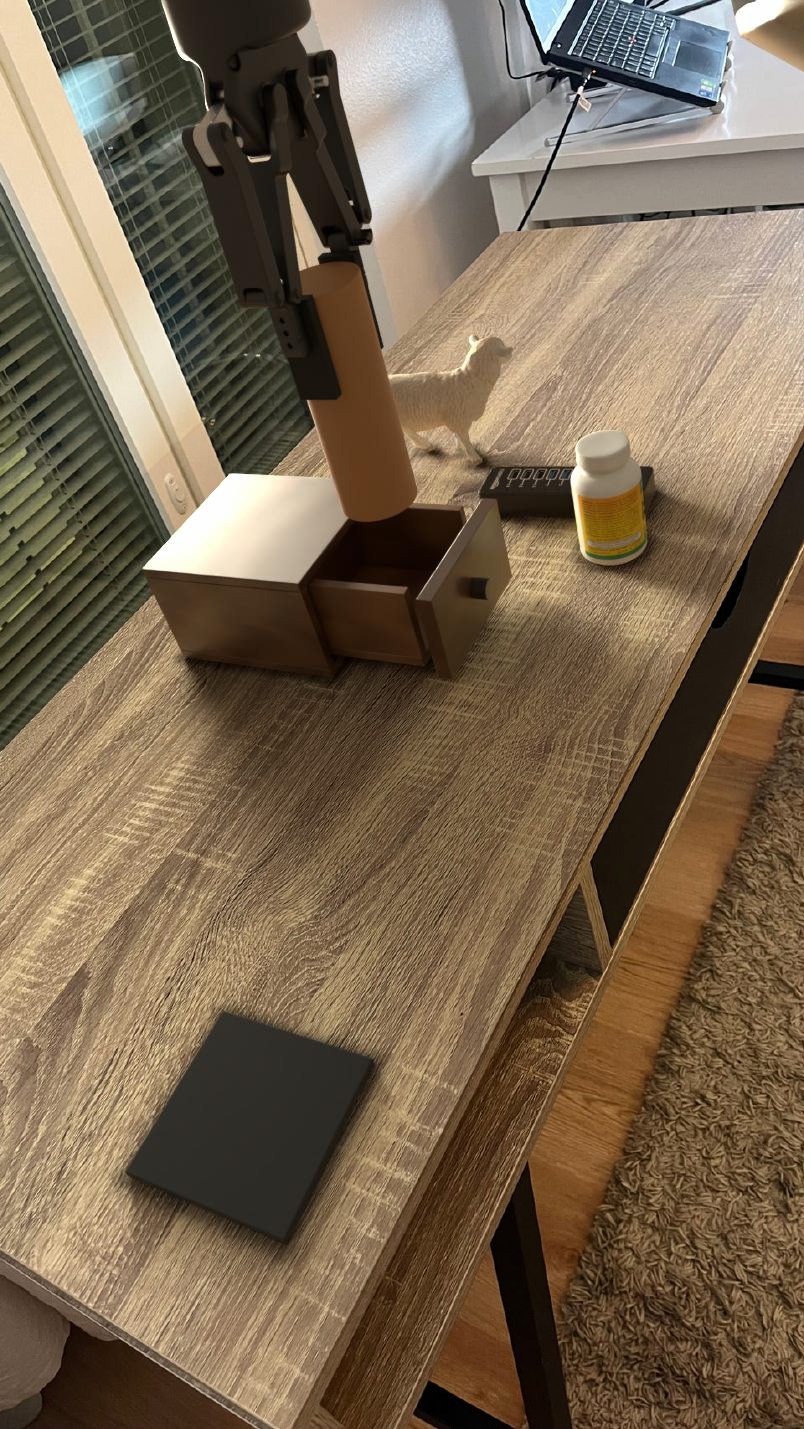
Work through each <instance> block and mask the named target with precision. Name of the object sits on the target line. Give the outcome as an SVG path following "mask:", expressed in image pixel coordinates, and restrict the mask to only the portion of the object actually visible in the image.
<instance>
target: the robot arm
mask: <svg viewBox="0 0 804 1429" xmlns="http://www.w3.org/2000/svg"><path fill="white" fill-rule="evenodd" d="M730 1H731V6H732V12H733V16H734V18H735V23H736V27H737V30H738V34H739V37H740V38H741V39H743V40H745V41H746V42H748V43H751V44H752V45H753V46H756V47H757V48H759V49H761V50H763V51H765V52H767V53H768V54H770V55H772V56H774V57H776V58H778V59H779V60H781V61H783V62H785V63H787V64H789V65H790V66H791V67H794V68H796V69H798V70H799V71H801V72H803V73H804V0H730ZM160 3H161V6H162V8H163V10H164V14H165V17H166V20H167V23H168V27H169V30H170V32H171V36H172V39H173V42H174V45H175V47H176V51H177V53H178V54H179V56H180V57H181V58H182V59H183V60H185V61H187V62H190V63H191V62H192V63H193V64H194V65H196V66H197V67H198V68H199V69H200V72H201V76H202V80H203V81H202V82H203V88H204V101H205V107H206V109H207V110H206V113H205V115H204V116H203V118H202V119H201V121H200V123H199V124H198V125H194V126H188V127H187V126H185V127H184V128H183V129H182V132H181V143H182V145H183V149H184V150H185V152H186V154H187V156H188V157H189V159H190V161H191V163H192V165H193V166H194V168H195V169H196V171H197V174H198V175H199V177H200V180H201V183H202V187H203V191H204V193H205V197H206V200H207V203H208V206H209V209H210V212H211V216H212V219H213V222H214V226H215V228H216V231H217V236H218V239H219V241H220V245H221V248H222V250H223V255H224V257H225V260H226V264H227V267H228V271H229V273H230V276H231V280H232V283H233V286H234V289H235V293H236V297H237V299H238V303H239V305H240V307H241V308H242V309H245V310H249V309H266V310H267V311H268V312H269V316H270V318H271V321H272V325H273V327H274V330H275V335H276V336H277V339H278V343H279V346H280V349H281V352H282V354H283V356H285V358H286V359H287V362H288V365H289V368H290V371H291V374H292V378H293V380H294V384H295V387H296V389H297V394H298V396H299V400H300V401H307V400H337V399H338V398H339V397H340V396H341V394H342V393H341V390H340V386H339V383H338V379H337V376H336V373H335V369H334V366H333V362H332V359H331V355H330V352H329V349H328V345H327V342H326V338H325V335H324V332H323V328H322V325H321V321H320V318H319V315H318V311H317V308H316V304H315V301H314V298H313V294H309V295H302V286H301V279H300V272H299V271H300V265H299V258H298V252H297V244H296V236H295V230H294V222H293V215H292V208H291V202H290V196H289V195H290V194H289V188H288V181H287V177H288V175H289V177H290V179H291V182H292V183H293V185H294V188H295V191H296V192H297V195H298V196H299V198H300V201H301V203H302V204H303V207H304V210H305V211H306V213H307V215H308V217H309V220H310V222H311V225H312V226H313V228H314V230H315V233H316V235H317V236H318V239H319V240H320V243H321V245H322V247H323V248H324V249H326V250H327V249H329V252H328V251H327V252H326V251H325V252H322V253H320V255H318V256H317V262H318V265H319V264H324V263H329V262H341V261H342V262H351V263H354V264H356V265H358V266H359V268H360V270H361V274H362V278H363V282H364V286H365V290H366V294H367V297H368V301H369V305H370V309H371V313H372V317H373V320H374V324H375V328H376V332H377V336H378V340H379V343H380V347H381V351H382V350H383V349H384V347H385V345H384V342H383V338H382V335H381V334H382V333H381V330H380V326H379V322H378V318H377V314H376V311H375V307H374V302H373V300H372V296H371V292H370V288H369V281H368V277H367V274H366V268H365V266H364V262H363V257H362V254H361V251H360V247H362V246H363V247H364V246H370V245H372V243H373V240H374V238H373V237H374V234H373V229H372V228H363V227H364V225H369V224H371V222H372V219H373V212H372V206H371V203H370V200H369V199H370V198H369V196H368V192H367V189H366V185H365V182H364V178H363V173H362V170H361V165H360V161H359V158H358V155H357V151H356V147H355V143H354V140H353V136H352V133H351V128H350V125H349V120H348V118H347V114H346V110H345V106H344V103H343V100H342V99H343V98H342V95H341V89H340V88H341V87H340V78H339V69H338V61H337V56H336V54H335V52H334V51H333V50H332V49H329V48H328V49H324V50H317V51H314V52H313V51H312V52H307V50H306V47H305V46H304V44H303V43H302V41H301V39H300V36H299V34H298V32H300V31H301V30H302V29H303V28H305V27H307V25H308V24H309V23H310V20H311V17H312V7H311V3H310V0H160ZM264 158H269V159H267V160H259V161H250V160H255V159H264ZM351 202H352V204H351ZM281 281H282V282H283V283H281Z"/></svg>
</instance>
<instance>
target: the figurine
mask: <svg viewBox="0 0 804 1429" xmlns="http://www.w3.org/2000/svg"><path fill="white" fill-rule="evenodd" d="M468 340H469V341H468V342H469V344H470V345H471V348H470V350H469V351H468V353H467V354H466V357H465V359H464V362H463V364H462V365H461V366H460V367H457V368H455V369H452V370H446V371H441V372H439V371H434V372H432V371H425V372H415V373H400V374H398V373H397V374H396V373H395V374H388V378H389V382H390V386H391V389H392V393H393V397H394V401H395V405H396V409H397V412H398V416H399V420H400V424H401V428H402V432H403V435H406V436H407V437H408V438H409V440H410V441H411V442H412V444H413V445H414V447H416V448H419V449H421V450H422V451H423V452H425V453H429V452H431V451H433V450H434V448H435V446H434V444H433V443H432V442H431V441H430V440H429V439H427V438H425V437H423V436H422V435H420V434H419V433H421V432H427V431H431V430H435V429H437V428H440V427H446V428H447V429H448V430H449V431H450V432H451V433H454V437H455V438H454V439H455V440H454V441H455V444H456V446H457V447H458V448H460V449H461V451H462V452H464V453H465V455H466V457H467V458H469V459H470V461H471V463H472V465H475V466H476V465H477V466H478V465H480V464H482V463H483V458H482V456H480V455H479V454H478V452H477V451H476V449H475V447H474V446H473V444H472V442H471V438H470V434H469V431H470V429H471V427H472V424H473V422H477V421H479V420H480V419H481V418H482V417H483V416H484V413H485V410H486V406H487V403H488V401H489V397H490V395H491V393H492V391H493V390H494V388H495V386H496V384H497V381H498V379H499V378H500V376H501V371H502V365H505V364H508V363H509V361H510V360H511V359H512V358H513V351H514V348H513V347H511V346H507V345H505V343H504V340H503V339H501V338H499V337H496V336H484V337H482V338H480V337H479V336H478V335H476V334H474V333H473V334H471V335H470V336H469V339H468ZM418 432H419V433H418Z"/></svg>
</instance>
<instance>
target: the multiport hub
mask: <svg viewBox="0 0 804 1429" xmlns="http://www.w3.org/2000/svg"><path fill="white" fill-rule="evenodd" d="M576 466H577V465H564V466H563V465H496V466H493V467H492V468H490V471H488V474H487V475H486V477H485V478H484V480H483V482H482V484H481V485H480V488H479V489H478V491H477V493H478V497H479V502H480V501H481V500H482V499H496V500H497V504H498V509H499V514H500V517H540V518H541V517H543V518H544V517H545V518H546V517H547V518H576V516H575V509H574V502H573V495H572V488H571V475H572V473H573V471H574V469H575V467H576ZM639 466H640V469H641V474H642V485H643V497H644V511H645V517H646V516H647V514H648V512H649V509H650V507H651V504H652V502H653V499H654V498H655V497H654V496H655V494H656V490H657V489H656V480H655V470H654V467H653V466H650V465H639Z"/></svg>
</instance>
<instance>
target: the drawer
mask: <svg viewBox="0 0 804 1429" xmlns="http://www.w3.org/2000/svg"><path fill="white" fill-rule="evenodd" d="M464 507H465V506H464V505H463V504H447V503H427V502H413V503H412V504H411V505H410V506H409V507H408V508H407V509H405V510H404V511H402V512H400V513H399V514H397V515H394V516H392V517H389V518H387V519H383V520H379V521H373V522H360V521H355V523H354V524H353V525H352V526H351V528H350V529H349V530H348V532H347V533H346V534H345V536H344V537H343V538H342V540H341V541H340V542H339V543H338V545H337V546H336V547H335V549H334V550H333V551H332V553H331V554H330V555H329V557H328V558H327V559H326V561H325V562H324V563H323V564H322V566H321V567H320V568H319V570H318V571H317V572H316V574H315V575H314V576H313V578H312V579H311V580H310V582H309V583H308V584H307V585H306V587H307V590H308V593H309V595H310V598H311V601H312V604H313V606H314V609H315V612H316V615H317V617H318V620H319V623H320V626H321V628H322V631H323V634H324V637H325V639H326V642H327V645H328V648H329V650H330V653H331V654H333V655H341V656H347V657H349V658H357V659H366V660H372V661H381V662H389V663H395V664H405V665H413V666H421V667H426V665H427V664H428V662H429V660H430V659H432V661H433V665H434V668H435V669H434V670H435V672H436V676H437V678H438V679H443V680H453V679H454V678H455V676H456V675H457V673H458V671H459V669H460V667H461V665H462V664H463V662H464V661H465V659H466V657H467V656H468V653H469V652H470V651H471V648H472V647H473V645H474V644H475V642H476V640H477V638H478V636H479V634H480V633H481V631H482V629H483V628H484V626H485V624H486V622H487V621H488V619H489V618H490V616H491V614H492V613H493V611H494V608H495V607H496V605H497V604H498V602H499V600H500V598H501V597H502V595H503V593H504V591H505V590H506V588H507V586H508V584H509V583H510V581H511V579H512V578H513V575H512V569H511V564H510V560H509V554H508V550H507V549H508V548H507V545H506V540H505V534H504V529H503V524H502V520H501V516H500V514H499V509H498V504H497V500H496V499H482V500H481V501H480V500H479V503H478V504H477V506H476V507H475V509H474V511H473V512H472V513H471V515H470V516H469V517H468V519H467V516H466V512H465V508H464Z"/></svg>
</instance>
